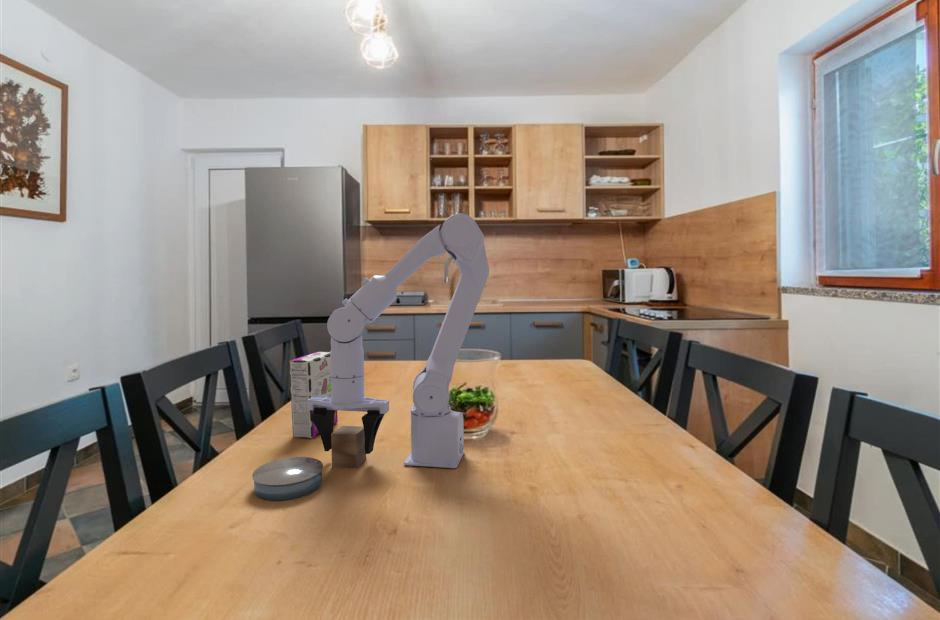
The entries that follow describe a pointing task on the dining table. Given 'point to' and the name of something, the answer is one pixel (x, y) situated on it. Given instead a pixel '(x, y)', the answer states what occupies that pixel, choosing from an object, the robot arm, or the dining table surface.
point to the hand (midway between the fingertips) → (348, 450)
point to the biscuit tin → (287, 478)
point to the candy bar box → (308, 390)
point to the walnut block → (348, 447)
